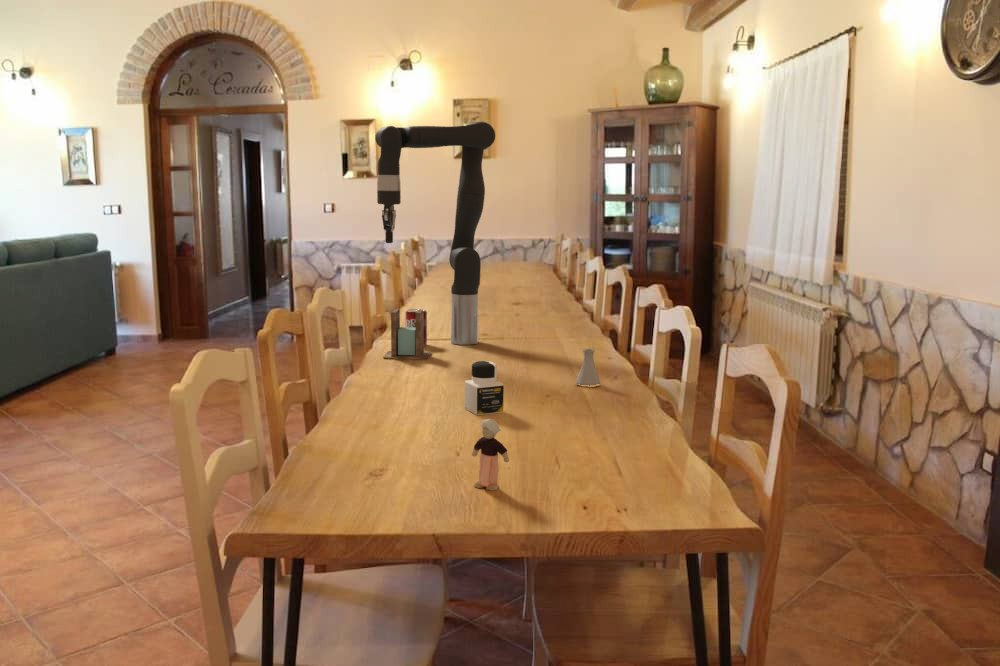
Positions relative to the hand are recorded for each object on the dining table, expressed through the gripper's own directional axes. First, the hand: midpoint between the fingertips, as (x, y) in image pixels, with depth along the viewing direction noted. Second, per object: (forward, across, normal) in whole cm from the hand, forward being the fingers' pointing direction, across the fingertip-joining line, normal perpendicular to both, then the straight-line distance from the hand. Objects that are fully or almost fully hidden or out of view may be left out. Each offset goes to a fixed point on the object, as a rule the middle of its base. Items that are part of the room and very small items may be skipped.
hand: (389, 242), depth 277 cm
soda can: (+35, +6, -8) cm, 37 cm away
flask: (+35, -49, -63) cm, 87 cm away
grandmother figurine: (+35, -132, -40) cm, 142 cm away
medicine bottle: (+35, -79, -36) cm, 94 cm away
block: (+34, -14, -8) cm, 38 cm away
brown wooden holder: (+35, -14, -8) cm, 39 cm away
